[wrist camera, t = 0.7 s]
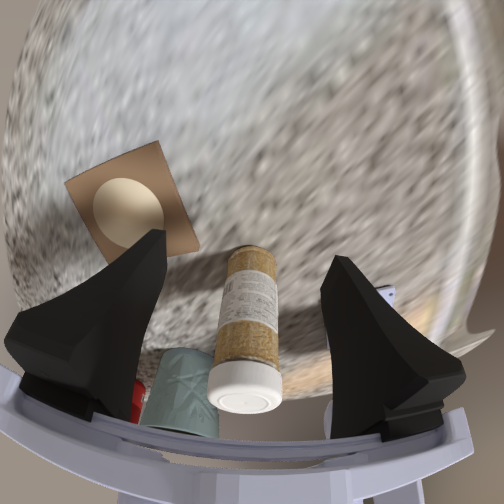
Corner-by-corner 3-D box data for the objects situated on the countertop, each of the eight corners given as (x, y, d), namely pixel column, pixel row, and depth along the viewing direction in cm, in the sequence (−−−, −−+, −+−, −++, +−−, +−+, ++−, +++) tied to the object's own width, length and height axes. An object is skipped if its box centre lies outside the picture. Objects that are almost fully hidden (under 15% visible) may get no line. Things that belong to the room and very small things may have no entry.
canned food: (127, 370, 41) (111, 426, 32) (154, 391, 45) (143, 442, 36) (101, 371, 43) (84, 420, 34) (127, 391, 47) (115, 437, 38)
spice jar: (255, 289, 27) (249, 420, 16) (217, 265, 26) (191, 402, 15) (287, 261, 25) (298, 402, 14) (248, 234, 24) (235, 381, 13)
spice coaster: (200, 245, 24) (198, 251, 24) (114, 263, 26) (111, 269, 25) (158, 140, 19) (154, 143, 18) (69, 179, 21) (64, 183, 20)
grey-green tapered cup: (146, 357, 37) (126, 428, 27) (182, 334, 33) (162, 422, 23) (199, 384, 41) (189, 450, 31) (241, 366, 37) (235, 445, 27)
